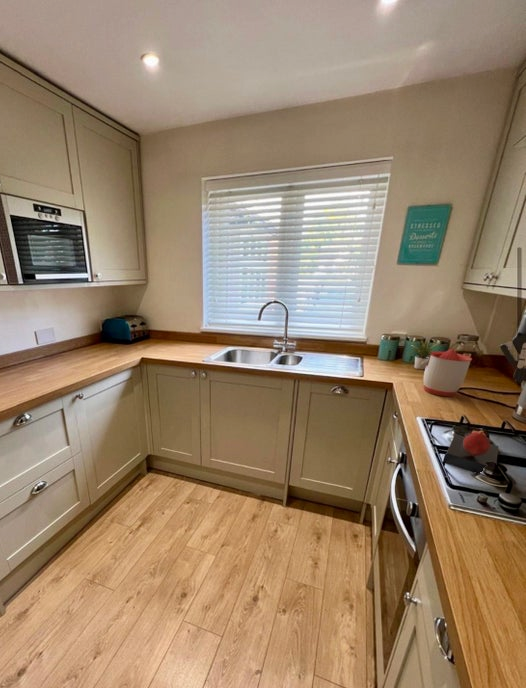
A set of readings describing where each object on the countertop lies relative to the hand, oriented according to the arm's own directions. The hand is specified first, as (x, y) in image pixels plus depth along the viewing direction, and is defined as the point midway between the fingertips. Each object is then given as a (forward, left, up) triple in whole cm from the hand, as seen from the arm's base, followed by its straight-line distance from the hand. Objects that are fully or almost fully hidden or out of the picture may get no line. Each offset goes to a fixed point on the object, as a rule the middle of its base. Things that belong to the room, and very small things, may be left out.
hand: (518, 381), depth 89 cm
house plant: (-33, -93, -17) cm, 100 cm away
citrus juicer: (-19, -56, -24) cm, 64 cm away
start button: (+3, -3, -19) cm, 20 cm away
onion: (+9, +5, -21) cm, 23 cm away
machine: (+6, +1, -24) cm, 25 cm away
